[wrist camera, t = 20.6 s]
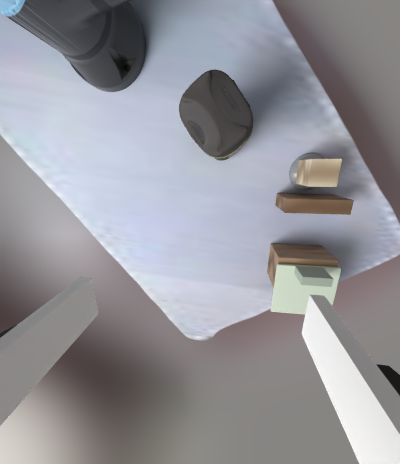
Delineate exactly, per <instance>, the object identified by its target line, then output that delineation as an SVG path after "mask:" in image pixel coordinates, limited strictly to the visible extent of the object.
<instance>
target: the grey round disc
mask: <svg viewBox="0 0 400 464" xmlns="http://www.w3.org/2000/svg"><path fill="white" fill-rule="evenodd" d="M308 159H324V158H323V157H322V156H320V155H318V154H315V153H308V154H304V155H302V156H300V157H299V158H297V159H296V160H295V161H294V163H293V164H292V166H291V168H290V180H291V182H292V183H293V184H294V185H295V186H296V187H298V188H300V189H312V188H314V187H308V186H304V185H300V184H296V176H297V169H298V162H299V160H308Z"/></svg>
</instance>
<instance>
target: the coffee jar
mask: <svg viewBox="0 0 400 464" xmlns="http://www.w3.org/2000/svg"><path fill="white" fill-rule="evenodd" d="M179 113H180V117H181V120H182V122H183V124H184V126H185V127H186V129H187V131H188V132H189V134H190V135H191V137H192V138H193V139H194V141H195V142H196V143H197V144H198V145H199V147H200V148H201V149H202V150H203V151H204V152H205V153H206V154H208V155H209V156H211V157H213V158H215V159H217V160H226V159H228V158H229V157H231V156H232V155H234V154H235V153H236V152H237V151H238V150H239V149H240V148H241V147H242V145H243V144H244V143H245V142H246V141H247V140H248V138H249V137H250V134H251V132H252V127H253V116H252V112H251V109H250V105H249V104H248V102H247V101H246V99H245V98H244V96H243V94H242V93H241V91H240V90H239V88H238V87H237V85H236V83H235V82H234V80H232V79H231V78H230V77H229V76H228V75H227V74H226V73H224V72H222V71H220V70H210V71H207V72H205V73H204V74H202V75H201V76H200V77H199V78H198V79H196V80H195V81H194V82H193V83H192V84H191V85H190V87H189V88H188V89H187V90H186V91H185V93H184V94H183V96H182V98H181V101H180V105H179Z"/></svg>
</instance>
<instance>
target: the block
mask: <svg viewBox="0 0 400 464" xmlns="http://www.w3.org/2000/svg"><path fill="white" fill-rule="evenodd" d="M341 163H342V159H308V160H299V162H298V169H297V176H296V184H300V185H304V186H308V187H337V182H338V177H339V172H340V168H341Z"/></svg>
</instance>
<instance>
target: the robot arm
mask: <svg viewBox="0 0 400 464" xmlns="http://www.w3.org/2000/svg"><path fill="white" fill-rule="evenodd" d="M128 1H129V0H0V13H1V14H3V15H5V16H6V17H8V18H9V19H11V20H12V21H14V22H15V23H17V24H18V25H20V26H21V27H23V28H24V29H26V30H28V31H29V32H31V33H32V34H34V35H35V36H37V37H38V38H40V39H41V40H43V41H44V42H46V43H47V44H49V45H50V46H52V47H53V48H55V49H56V50H58V51H59V52H61V53H62V54H63V55H64V56H65V58H66V59H67V60H68V61H69V62H70V64H71V65H72V67H73V68H74V69H75V71H76V72H77V73H78V74H79V75H80V76H81V77H82V78H83V79H84V80H85V81H86V82H88V83H89V84H91V85H93V86H94V87H96V88H98V89H100V90H103V91H107V92H116V91H120V90H123V89H125V88H126V87H128V86H129V85H130V84H132V83H133V81H134V80H135V79H136V78H137V76H138V75H139V73H140V71H141V68H142V65H143V62H144V57H145V37H144V32H143V28H142V25H141V22H140V20H139V18H138V16H137V14H136V13H135V11H134V9H133V8H132V6H131V4H130V3H129V2H128ZM97 315H98V308H97V303H96V298H95V293H94V288H93V283H92V278H82V277H81V278H79V279H78V280H76V281H75V282H74V283H72V284H71V285H70V286H68V287H67V288H66V289H64V290H63V291H62V292H61V293H59V294H58V295H57V296H55V297H54V298H53V299H51V300H50V301H49V302H47V303H46V304H45V305H43V306H42V307H41V308H39V309H38V310H37V311H36V312H34V313H33V314H31V315H30V316H29V317H27V318H26V319H25V320H24V321H22V322H21V323H19V324H18V325H15V326H13V327H11V328H9V329H8V330H6V331H4V332H2V333H1V334H0V425H1V424H2V423H3V422H4V421H5V420H6V419H7V417H8V416H9V415H10V414H11V413H12V412H13V411H14V409H15V408H16V407H17V406H18V405H19V404H20V403H21V401H22V400H23V399H24V398H25V397H26V396H27V395H28V394H29V392H30V391H31V390H32V389H33V388H34V387H35V386H36V384H37V383H38V382H39V381H40V380H41V379H42V378H43V376H44V375H45V374H46V373H47V372H48V371H49V370H50V368H51V367H52V366H53V365H54V364H55V363H56V362H57V360H58V359H59V358H60V357H61V356H62V355H63V354H64V352H65V351H66V350H67V349H68V348H69V347H70V346H71V344H72V343H73V342H74V341H75V340H76V339H77V338H78V336H79V335H80V334H81V333H82V332H83V330H85V328H86V327H87V326H88V325H89V324H90V323H91V322H92V320H93V319H94V318H95V317H96V316H97ZM302 336H303V338H304V340H305V342H306V344H307V347H308V349H309V351H310V354H311V356H312V358H313V360H314V363H315V365H316V367H317V369H318V372H319V374H320V376H321V378H322V381H323V383H324V385H325V387H326V389H327V392H328V393H329V396H330V398H331V401H332V403H333V405H334V407H335V410H336V412H337V414H338V417H339V419H340V421H341V423H342V425H343V428H344V430H345V432H346V434H347V437H348V439H349V441H350V443H351V446H352V448H353V450H354V452H355V455H356V457H357V459H358V461H359V464H400V375H399V374H398V373H397V372H395V371H394V370H393V369H392V368H391V367H389V366H385V365H377V364H375V362H374V361H373V360H372V358H371V357H370V356H369V354H368V353H367V352H366V351H365V349H364V348H363V346H362V345H361V344H360V342H359V341H358V340H357V338H356V337H355V336H354V335H353V333H352V332H351V330H350V329H349V328H348V327H347V325H346V324H345V323H344V321H343V320H342V319H341V317H340V316H339V314H338V313H337V312H336V310H335V309H334V308H333V306H332V305H331V304H330V302H329V301H328V300H327V299H326V297H325V296H323V295H309V300H308V305H307V310H306V315H305V320H304V325H303V329H302Z"/></svg>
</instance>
